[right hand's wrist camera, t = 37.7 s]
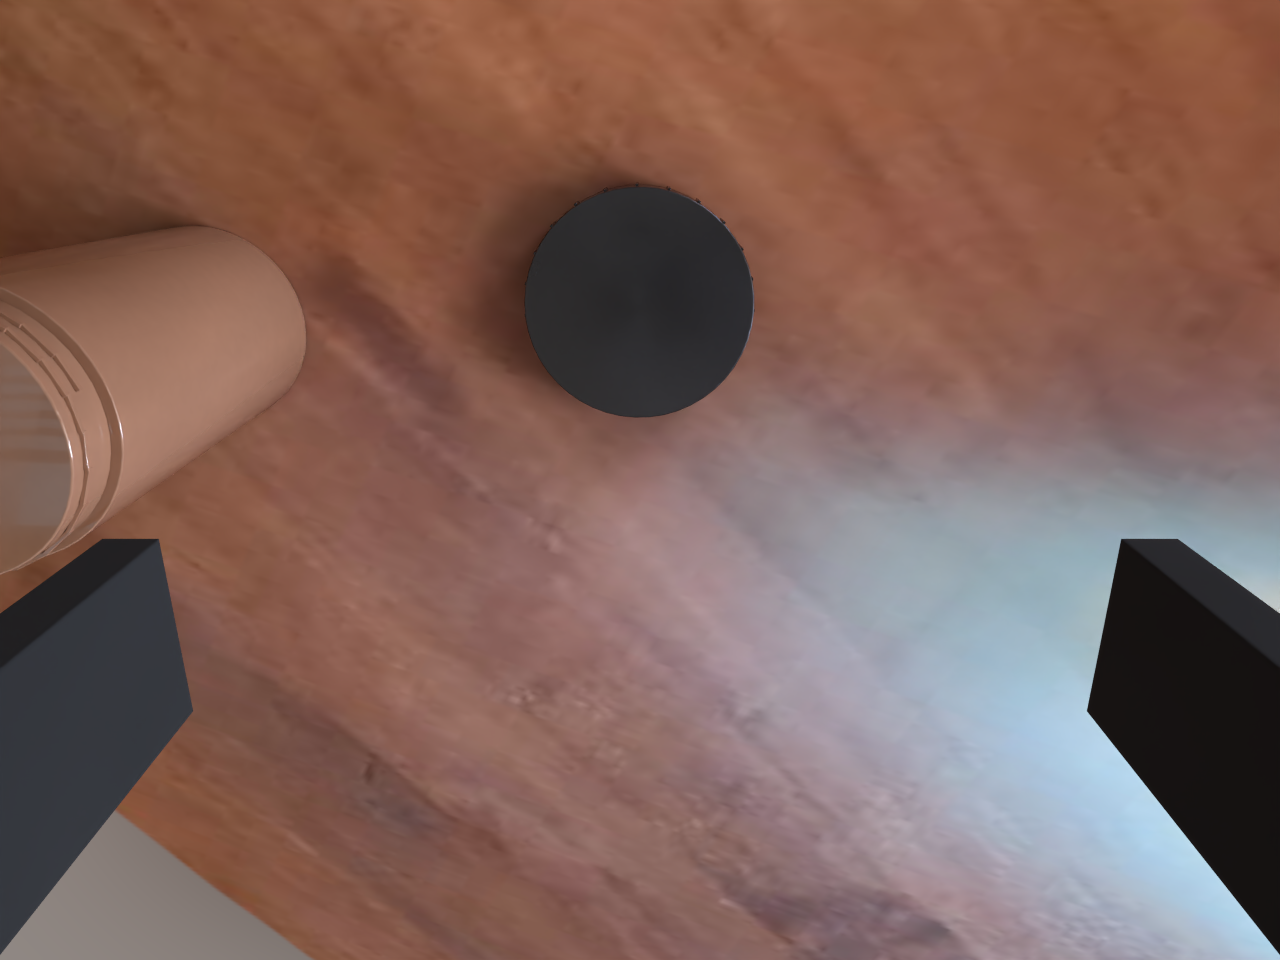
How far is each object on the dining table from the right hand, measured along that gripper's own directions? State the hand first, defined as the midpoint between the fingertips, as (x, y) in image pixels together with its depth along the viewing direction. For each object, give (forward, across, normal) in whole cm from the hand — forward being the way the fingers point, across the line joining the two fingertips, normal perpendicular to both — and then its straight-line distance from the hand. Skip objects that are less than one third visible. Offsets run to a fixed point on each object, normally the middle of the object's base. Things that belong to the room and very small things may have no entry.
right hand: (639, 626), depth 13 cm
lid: (+26, 0, 0) cm, 26 cm away
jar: (+27, +18, +1) cm, 33 cm away
